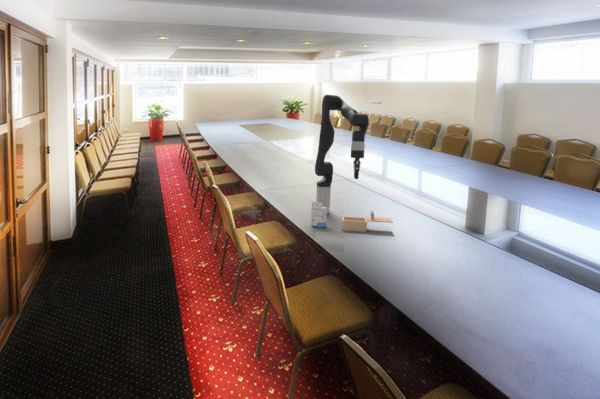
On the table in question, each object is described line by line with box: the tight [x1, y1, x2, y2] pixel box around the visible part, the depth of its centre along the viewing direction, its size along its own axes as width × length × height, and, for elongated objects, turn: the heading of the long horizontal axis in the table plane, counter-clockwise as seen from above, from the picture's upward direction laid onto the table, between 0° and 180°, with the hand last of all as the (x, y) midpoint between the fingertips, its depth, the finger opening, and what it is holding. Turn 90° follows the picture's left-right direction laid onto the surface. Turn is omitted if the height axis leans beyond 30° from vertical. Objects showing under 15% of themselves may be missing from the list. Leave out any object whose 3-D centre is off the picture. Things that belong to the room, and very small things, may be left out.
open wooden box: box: [341, 216, 368, 233], centre depth 236 cm, size 11×14×6 cm
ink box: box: [310, 200, 328, 228], centre depth 240 cm, size 8×5×15 cm, turn 50°
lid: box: [365, 210, 394, 224], centre depth 234 cm, size 11×14×4 cm
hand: (356, 178), depth 232 cm, fingers open, 7 cm apart
